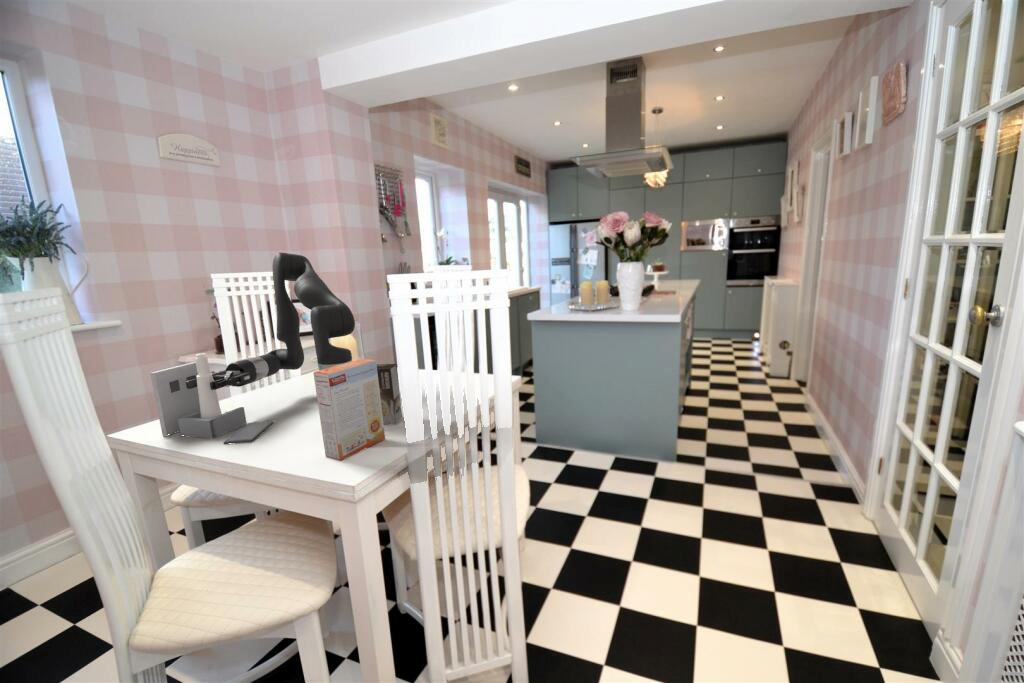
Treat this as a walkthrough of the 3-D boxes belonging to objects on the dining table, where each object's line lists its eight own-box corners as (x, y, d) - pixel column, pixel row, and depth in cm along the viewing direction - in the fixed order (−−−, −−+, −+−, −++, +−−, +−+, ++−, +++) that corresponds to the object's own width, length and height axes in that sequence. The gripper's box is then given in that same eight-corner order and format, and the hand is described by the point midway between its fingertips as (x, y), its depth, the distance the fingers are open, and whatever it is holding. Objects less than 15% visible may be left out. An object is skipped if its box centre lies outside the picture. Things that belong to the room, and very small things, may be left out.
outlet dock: (252, 421, 133) (242, 361, 130) (209, 439, 120) (197, 374, 117) (208, 418, 138) (198, 360, 134) (162, 435, 124) (150, 372, 121)
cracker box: (369, 435, 118) (361, 357, 114) (386, 439, 114) (378, 359, 111) (323, 457, 106) (312, 370, 102) (340, 461, 103) (329, 373, 99)
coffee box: (403, 416, 131) (398, 363, 128) (397, 424, 125) (391, 368, 122) (372, 417, 131) (366, 364, 128) (364, 425, 125) (358, 369, 122)
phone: (274, 424, 131) (274, 420, 131) (252, 444, 117) (251, 439, 117) (249, 426, 130) (248, 422, 130) (224, 446, 116) (223, 441, 116)
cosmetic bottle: (230, 425, 131) (217, 350, 127) (220, 432, 125) (206, 355, 121) (207, 427, 130) (194, 352, 126) (196, 435, 124) (182, 357, 120)
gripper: (227, 358, 139) (176, 372, 124) (265, 359, 136) (217, 373, 120) (231, 382, 141) (181, 398, 125) (268, 383, 137) (221, 400, 122)
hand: (199, 385), depth 123 cm, fingers open, 8 cm apart
